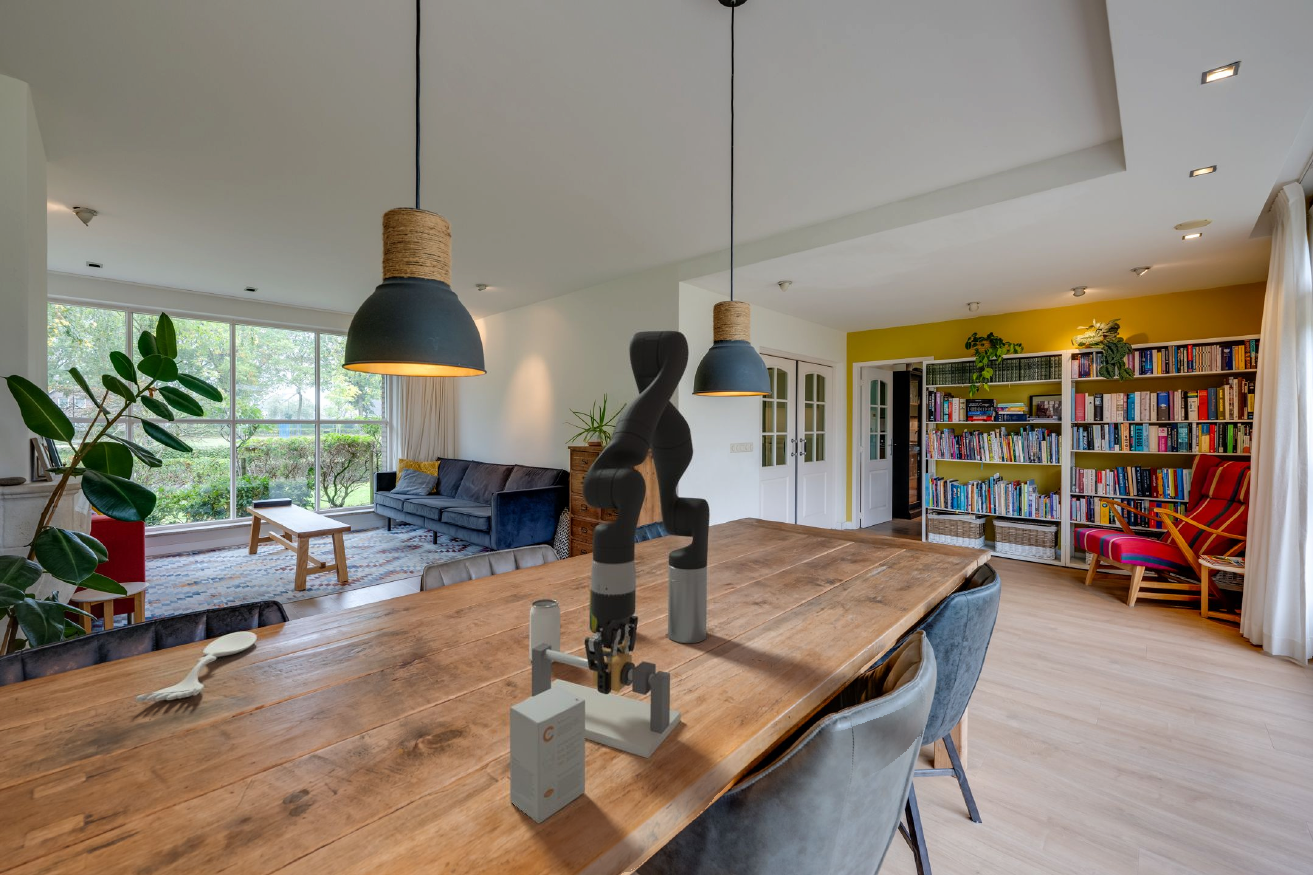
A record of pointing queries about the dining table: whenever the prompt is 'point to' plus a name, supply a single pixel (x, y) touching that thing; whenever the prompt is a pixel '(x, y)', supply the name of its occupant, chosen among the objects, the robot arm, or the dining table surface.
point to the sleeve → (615, 670)
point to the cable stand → (615, 703)
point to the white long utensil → (214, 649)
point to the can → (545, 624)
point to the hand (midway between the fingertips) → (612, 685)
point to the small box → (547, 752)
